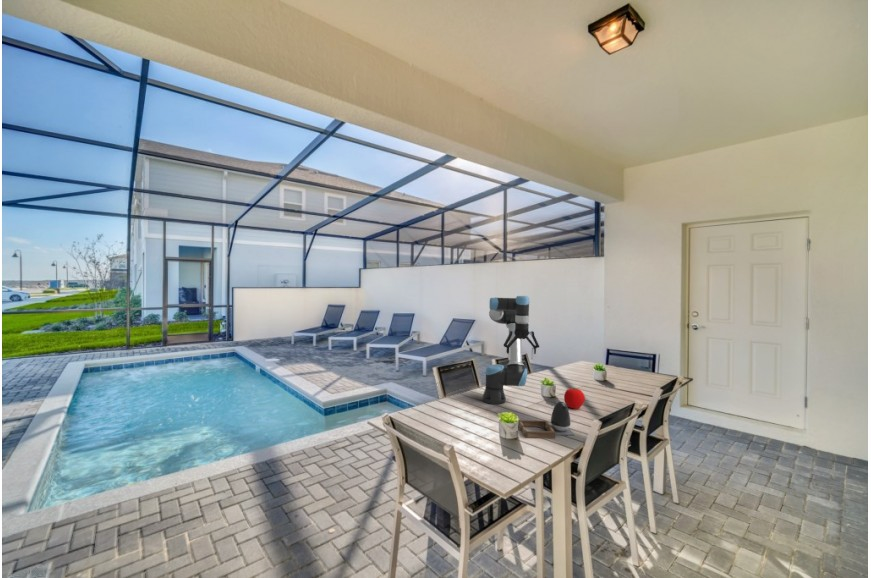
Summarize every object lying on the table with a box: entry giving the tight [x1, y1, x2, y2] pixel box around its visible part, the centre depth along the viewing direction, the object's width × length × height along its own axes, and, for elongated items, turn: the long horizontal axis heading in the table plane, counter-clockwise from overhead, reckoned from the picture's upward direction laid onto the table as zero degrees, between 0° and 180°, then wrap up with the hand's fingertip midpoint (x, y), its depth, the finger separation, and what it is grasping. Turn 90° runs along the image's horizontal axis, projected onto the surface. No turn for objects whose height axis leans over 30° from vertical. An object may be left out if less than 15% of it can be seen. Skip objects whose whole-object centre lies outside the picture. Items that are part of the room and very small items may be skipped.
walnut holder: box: [518, 419, 556, 439], centre depth 201 cm, size 15×15×3 cm
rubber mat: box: [549, 424, 575, 436], centre depth 203 cm, size 12×11×1 cm
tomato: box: [563, 387, 586, 410], centre depth 238 cm, size 12×12×13 cm
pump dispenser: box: [550, 400, 572, 431], centre depth 203 cm, size 10×10×15 cm
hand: (520, 359), depth 218 cm, fingers open, 13 cm apart
